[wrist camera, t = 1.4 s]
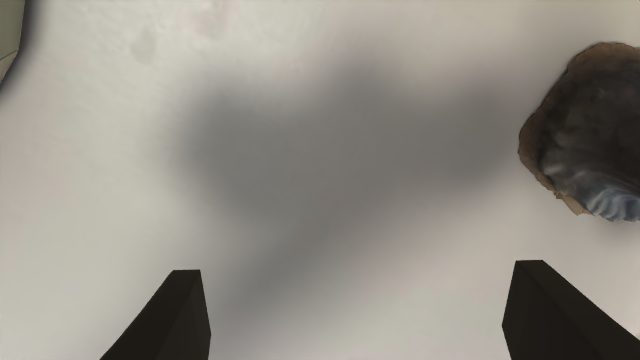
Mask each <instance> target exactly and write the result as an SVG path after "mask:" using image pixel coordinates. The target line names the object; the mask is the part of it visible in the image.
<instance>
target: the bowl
mask: <svg viewBox="0 0 640 360" xmlns="http://www.w3.org/2000/svg"><path fill="white" fill-rule="evenodd" d="M24 6H25V0H0V83H1V81H2V79H3V77H4V76H5V74H6V72H7V70H8V69H9V67H10V65H11V63H12V61H13V60H14V58H15V56H16V54H17V52H18V48H19V44H20V37H21V29H22V21H23V13H24Z"/></svg>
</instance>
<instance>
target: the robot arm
mask: <svg viewBox="0 0 640 360" xmlns="http://www.w3.org/2000/svg"><path fill="white" fill-rule="evenodd" d="M502 328H503V332H504V336H505V339H506V343H507V346H508V350H509V353H510V356H511V360H640V340H638V339H637V338H636V337H635V336H633V335H632V334H631V333H629V332H628V331H627V330H626V329H624V328H623V327H622V326H621V325H619V324H618V323H617V322H616V321H614V320H613V319H612V318H611V317H609V316H608V315H607V314H606V313H605V312H603V311H602V310H601V309H600V308H599V307H597V306H596V305H595V304H594V303H593V302H591V301H590V300H589V299H588V298H587V297H586V296H584V295H583V294H582V293H581V292H580V291H579V290H577V289H576V288H575V287H574V286H573V285H572V284H570V283H569V282H568V281H567V280H566V279H565V278H563V277H562V276H561V275H560V274H559V273H558V272H556V271H555V270H554V269H553V268H552V267H551V266H549V265H548V264H547V263H546V262H544V261H543V260H521V261H516V262H515V266H514V271H513V276H512V280H511V285H510V290H509V294H508V299H507V304H506V308H505V313H504V317H503V322H502ZM210 339H211V330H210V325H209V319H208V313H207V307H206V301H205V295H204V289H203V284H202V278H201V272H200V270H173V271H172V272H171V273H170V274H169V275H168V277H167V278H166V279H165V280H164V282H163V283H162V284H161V286H160V287H159V288H158V290H157V291H156V292H155V294H154V295H153V296H152V298H151V299H150V300H149V302H148V303H147V304H146V305H145V307H144V308H143V309H142V311H141V312H140V313H139V314H138V316H137V317H136V318H135V319H134V320H133V322H132V323H131V324H130V325H129V326H128V328H127V329H126V330H125V331H124V332H123V334H122V335H121V336H120V337H119V338H118V340H117V341H116V342H115V343H114V344H113V345H112V346H111V348H110V349H109V350H108V351H107V352H106V353H105V354H104V355H103V356H102V357H101V359H100V360H208V356H209V348H210Z"/></svg>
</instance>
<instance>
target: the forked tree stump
mask: <svg viewBox="0 0 640 360" xmlns="http://www.w3.org/2000/svg"><path fill="white" fill-rule="evenodd" d="M519 138H520V147H519V150H518V153H519V154H520V159H521V161H522V162H523V164H524V165H525V166H526V167H527V168H528V169H529V170H530V172H531V173H533V174H534V175H535V176H536V178H537V181H539V182H540V183H541V184H542V185H543V186H545V187H546V188H547V190H551V191H553V192H554V193H555V195H556V199H562V200H563V201H564V202H565V203H566V205H567V206H568V207H569V208H570V209H571V210H572V211H573V212H574V213H575V214H576V215H579V214H581V213H586V214H590V215H593V216H596V215H601V216H602V217H603V218H606V219H607V220H609V221H611V222H612V223H619V222H621V221H622V220H626V221H631V222H635V221H638V220H640V50H635V49H634V48H632V47H631V46H628V45H623V44H615V45H610V44H606V43H602V44H601V45H595V46H594V47H592V48H590V49H588V50H587V51H585V52H583V53H582V54H580V55H577V57H576V58H575V59H574V61H573V62H572V63H571V64H569V65H568V73H567V74H566V75H565V76H564V77H563V78H562V79H561V80H560V82H559V83H558V84H557V85H556V86H555V87H554V88H553V90H552V91H551V92H550V94H549V95H548V97H547V98H546V99H545V101H544V103H543V105H542V106H541V107H540V108H539V109H538V110H537V111H536V114H534V115H532V116H531V117H530V118H529V120H528V121H527V122H526V124H525V125H524V127H523V128H522V130H521V132H520V137H519Z"/></svg>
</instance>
